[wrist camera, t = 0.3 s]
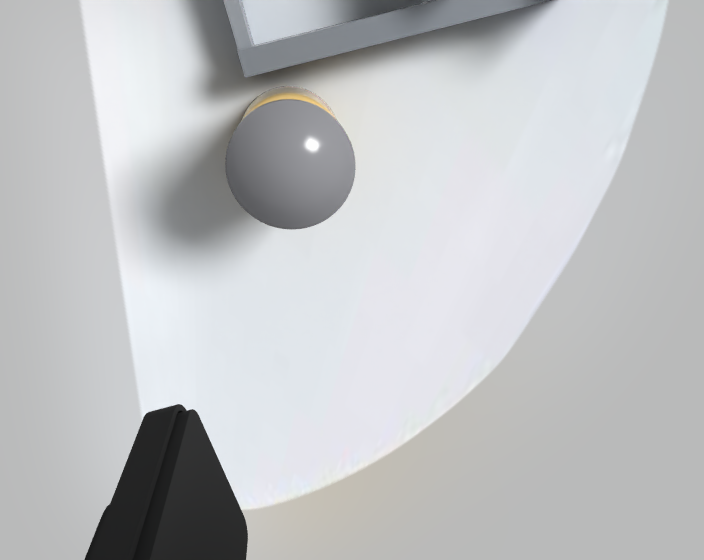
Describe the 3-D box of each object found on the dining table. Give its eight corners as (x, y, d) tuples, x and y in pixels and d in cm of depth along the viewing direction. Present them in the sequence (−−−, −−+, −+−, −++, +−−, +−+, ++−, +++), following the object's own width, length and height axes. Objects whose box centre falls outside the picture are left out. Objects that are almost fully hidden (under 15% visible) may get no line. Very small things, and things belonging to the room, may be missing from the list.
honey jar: (224, 99, 33) (207, 119, 26) (327, 72, 33) (339, 86, 26) (255, 199, 36) (248, 242, 29) (350, 175, 36) (367, 212, 29)
